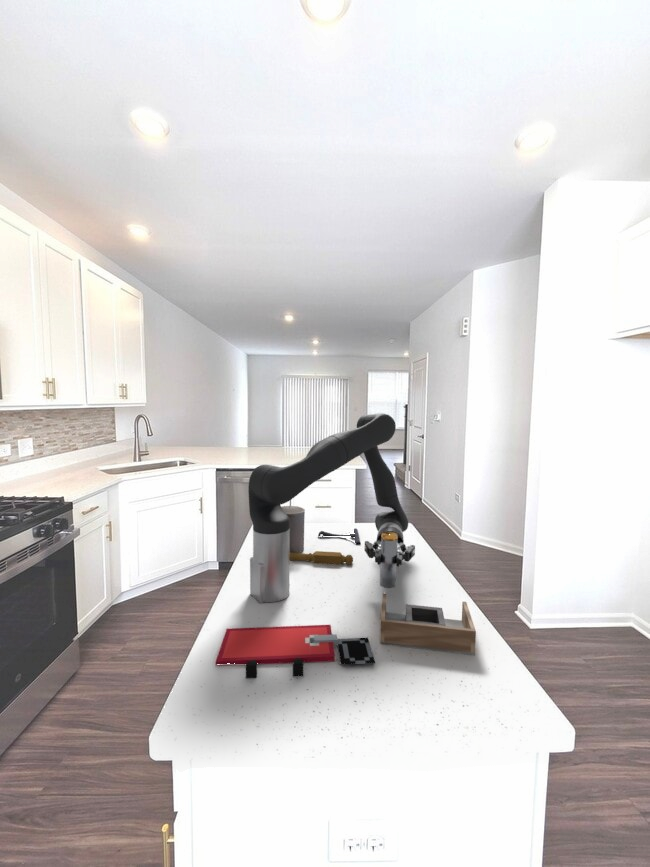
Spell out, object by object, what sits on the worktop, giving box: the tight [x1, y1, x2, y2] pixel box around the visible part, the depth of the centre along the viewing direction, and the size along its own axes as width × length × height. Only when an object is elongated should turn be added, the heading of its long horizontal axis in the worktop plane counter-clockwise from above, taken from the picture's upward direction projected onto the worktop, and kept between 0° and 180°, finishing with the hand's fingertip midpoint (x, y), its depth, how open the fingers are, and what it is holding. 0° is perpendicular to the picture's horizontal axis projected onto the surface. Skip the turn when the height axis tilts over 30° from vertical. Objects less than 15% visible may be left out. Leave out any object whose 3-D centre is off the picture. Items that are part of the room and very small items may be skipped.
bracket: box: [317, 527, 361, 545], centre depth 146 cm, size 14×15×3 cm
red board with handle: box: [215, 624, 376, 679], centre depth 80 cm, size 30×3×15 cm
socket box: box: [379, 593, 477, 656], centre depth 86 cm, size 12×19×5 cm, turn 79°
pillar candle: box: [281, 505, 306, 553], centre depth 133 cm, size 10×10×15 cm
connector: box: [379, 532, 398, 589], centre depth 101 cm, size 4×4×13 cm
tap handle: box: [289, 550, 354, 566], centre depth 124 cm, size 3×3×30 cm
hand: (388, 561), depth 98 cm, fingers closed on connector, 4 cm apart
